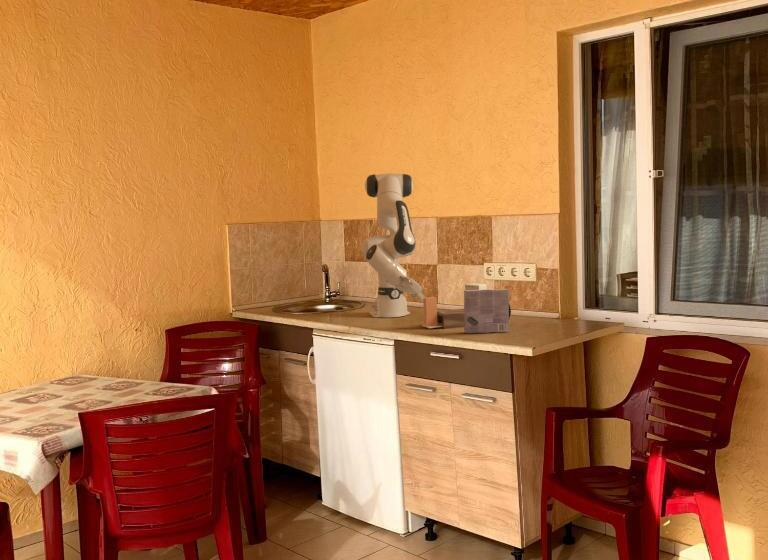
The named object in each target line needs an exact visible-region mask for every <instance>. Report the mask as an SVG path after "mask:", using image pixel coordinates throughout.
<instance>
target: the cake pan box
mask: <svg viewBox="0 0 768 560" xmlns="http://www.w3.org/2000/svg"><path fill="white" fill-rule="evenodd" d="M463 309H464V327H463V328H464V329H463V331H464V333H465V334H493V333H492V332H496V333H508V332H507V331H509V332H510V319H511V315H512V314H511V313H512V308H511V304H510V290H509V289H508V288H502V289H487V290H465V289H464V290H463ZM490 332H491V333H490Z"/></svg>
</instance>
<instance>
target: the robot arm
mask: <svg viewBox="0 0 768 560" xmlns="http://www.w3.org/2000/svg"><path fill="white" fill-rule="evenodd" d="M364 182H365V183H364V189H365V192H366V195H367V196H368V197H370V198H377V199H376V215H377V216H376V221H377V224H378V226H379V227H380V228H382V229H384V230H387V231H388V232H389V234H387V235H372V236H369V237H366V238H364V239H363V241H362V244H361V251H362V254H363V255H364V256H365V260H366V261H367V263H368V264H369V265H370V267H372V268H373V270H375V271H376V272H377V277H378V289H377V296H376V298H375V300H374V301H373V302H372V303H371V308H372V309H373V310H372V311H369V315H370V316H371V317H373V318H399V317H404V316H407V315H410V314H411V312H410V311H408V305H407V298H406V296H405V295H403V294H404V292H405V293H406V294H408V295H410V297H412V298H415V297H416V296H418V298H419V299H421V300H423V299H424V298H426V295H424V294H423V292H422V290H423V287H422V286H421V285H420V284H419V283H418V282H416V280H414V279H413V278H411V277H410V276H408V275H407V273H408V271H407V270H406V269H405V268H404V267H403V266H402V265H401V264H400V263H399V262H398V261H397V260H398V259H400V258H404V257H408V256H411V255H413V254H414V253H415V249H416V238H415V236H414V233H413V229H412V223H411V217H410V212H409V209H408V206H407V204H406V203H405V201H403V198H406V197H409V196H411V195H412V192H413V190H414V181H413V178H412V176H411V175H409V174H406V173H403V174H401V173H394V172H392V173H381V174H376V173H374V174H369V175H368V176H367V177H366V179H365V181H364Z"/></svg>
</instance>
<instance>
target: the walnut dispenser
mask: <svg viewBox="0 0 768 560" xmlns="http://www.w3.org/2000/svg"><path fill="white" fill-rule="evenodd" d="M437 320H438V323H443V327H442V329H444V330H445V329H456V327H457V328H464V308H457V309H447V310H437Z"/></svg>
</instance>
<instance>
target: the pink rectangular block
mask: <svg viewBox="0 0 768 560" xmlns="http://www.w3.org/2000/svg"><path fill="white" fill-rule="evenodd" d="M437 298H438V297H435V296H431V297H430V296H428V297H426V296H425V298H424V299H422V301H423V304H422V305H423V306H422V307H423V324H422V325H421V327H424V328H427V329H434V328H436V329H437V328H443V323H438V320H437V311H438V304H437V303H438V299H437Z"/></svg>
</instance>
